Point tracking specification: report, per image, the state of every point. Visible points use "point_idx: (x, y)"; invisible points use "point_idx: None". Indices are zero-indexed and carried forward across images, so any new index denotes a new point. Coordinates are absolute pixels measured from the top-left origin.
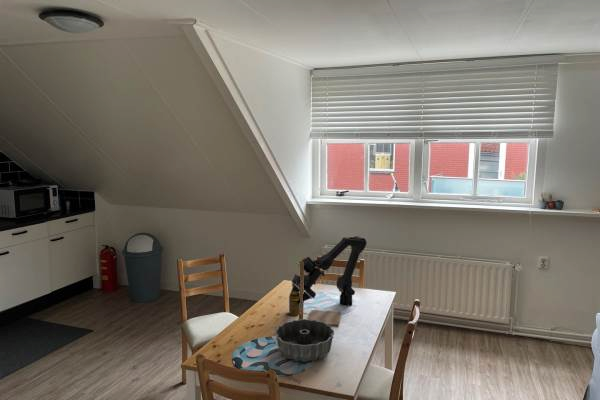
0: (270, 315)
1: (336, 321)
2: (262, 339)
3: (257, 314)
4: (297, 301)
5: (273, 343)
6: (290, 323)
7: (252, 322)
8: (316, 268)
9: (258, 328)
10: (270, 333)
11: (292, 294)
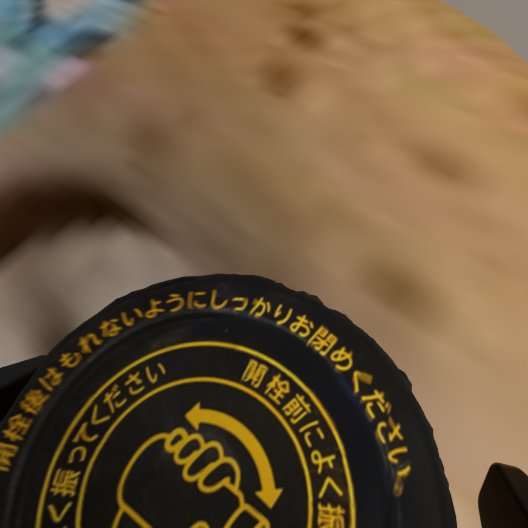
0: (412, 212)
1: None
2: (103, 15)
3: (502, 136)
4: (24, 371)
5: (16, 36)
6: None
7: (361, 54)
8: None
9: (243, 48)
10: (122, 70)
11: (152, 289)
